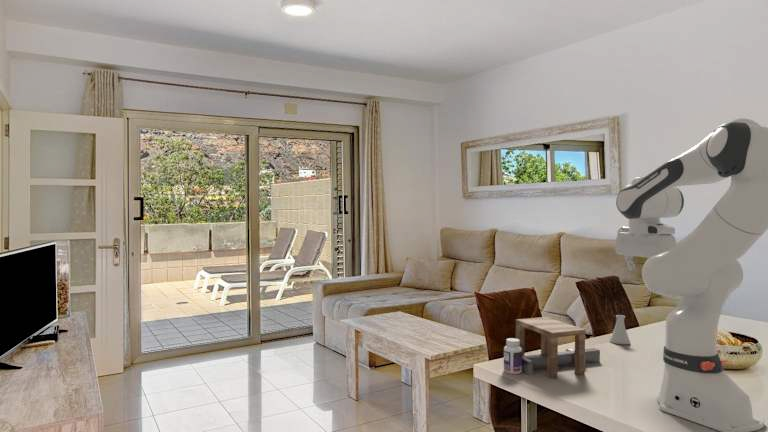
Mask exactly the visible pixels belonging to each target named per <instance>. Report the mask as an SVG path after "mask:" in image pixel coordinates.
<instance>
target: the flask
mask: <svg viewBox="0 0 768 432" xmlns="http://www.w3.org/2000/svg"><path fill="white" fill-rule="evenodd" d="M615 318H616V321H615V326H614V328H613V331H612V333H611V336H610V338H609V342H610V343H613V344H617V345H631V340H630V338H629V334H628V332H627V329H626V325H625V319H626V316H625V315H622V314H616V315H615Z"/></svg>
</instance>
